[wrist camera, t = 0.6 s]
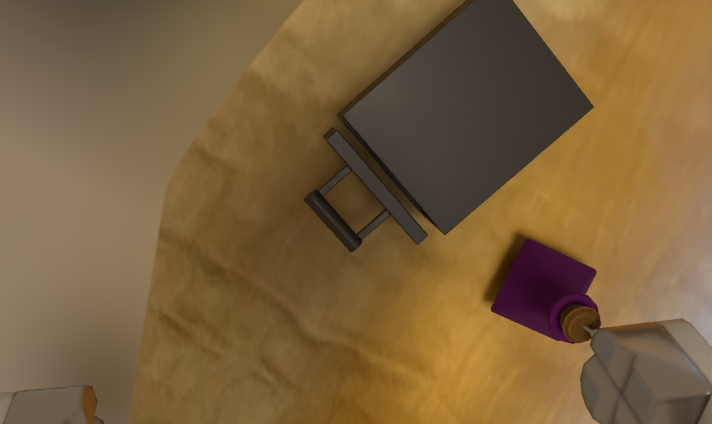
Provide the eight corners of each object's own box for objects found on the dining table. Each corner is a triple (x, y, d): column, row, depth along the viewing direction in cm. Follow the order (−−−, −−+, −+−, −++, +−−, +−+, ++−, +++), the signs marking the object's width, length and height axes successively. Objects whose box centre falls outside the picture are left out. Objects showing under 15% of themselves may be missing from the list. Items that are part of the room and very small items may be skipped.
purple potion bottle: (480, 300, 62) (551, 377, 44) (515, 230, 61) (602, 280, 43) (546, 330, 63) (642, 416, 45) (582, 262, 62) (694, 323, 44)
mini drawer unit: (424, 217, 60) (445, 235, 52) (336, 114, 58) (342, 115, 49) (552, 107, 59) (594, 107, 51) (468, -2, 57) (497, -21, 49)
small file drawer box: (365, 263, 59) (374, 282, 53) (283, 170, 57) (280, 179, 51) (524, 126, 59) (553, 128, 52) (446, 27, 57) (466, 16, 50)
